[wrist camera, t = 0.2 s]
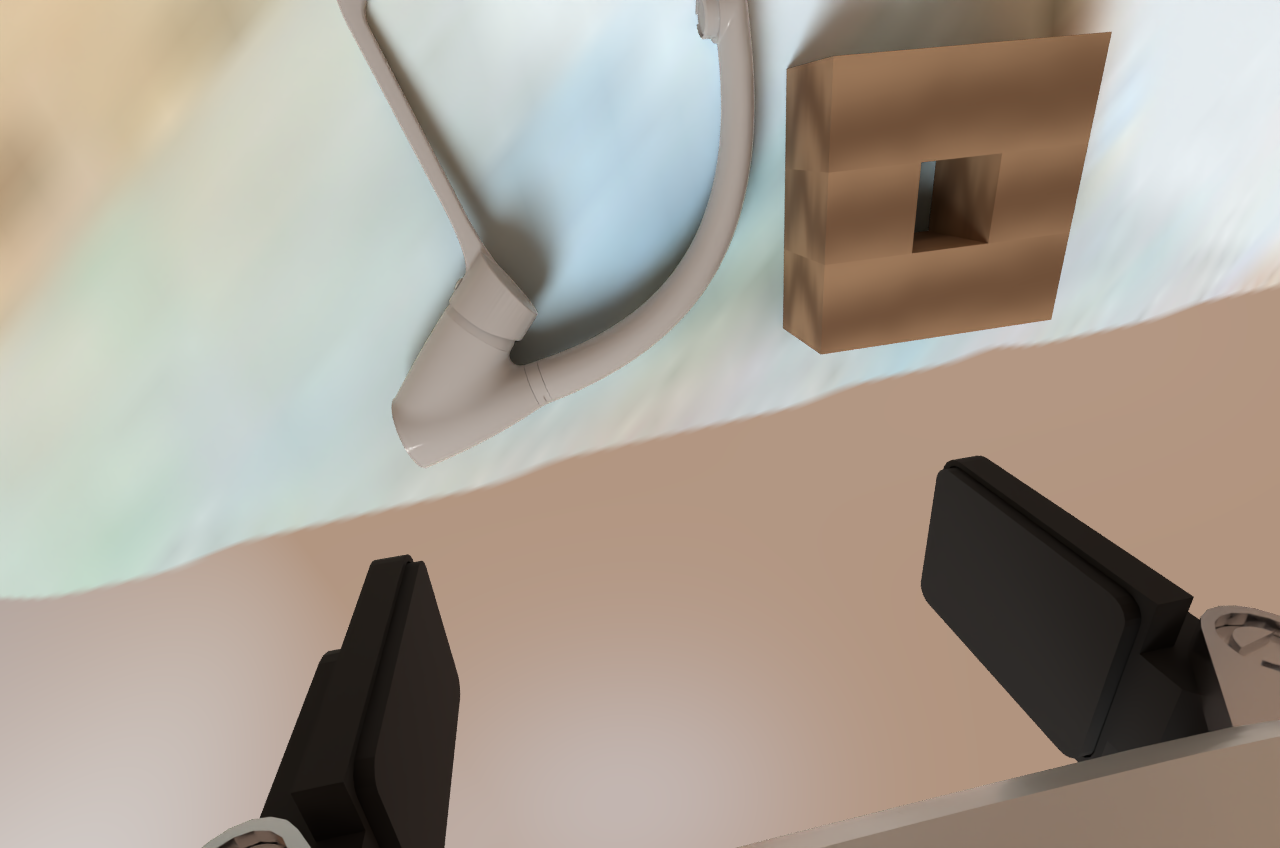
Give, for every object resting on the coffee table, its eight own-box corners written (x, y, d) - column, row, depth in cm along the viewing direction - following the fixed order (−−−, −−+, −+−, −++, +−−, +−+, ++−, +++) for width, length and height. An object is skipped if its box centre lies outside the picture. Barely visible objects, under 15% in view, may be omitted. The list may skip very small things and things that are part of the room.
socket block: (786, 68, 36) (833, 56, 31) (1028, 47, 38) (1111, 31, 33) (783, 328, 43) (820, 354, 38) (987, 298, 45) (1051, 319, 40)
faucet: (195, -6, 32) (684, -189, 32) (435, 451, 42) (809, 306, 42) (136, -43, 27) (705, -255, 28) (422, 479, 37) (840, 316, 38)
